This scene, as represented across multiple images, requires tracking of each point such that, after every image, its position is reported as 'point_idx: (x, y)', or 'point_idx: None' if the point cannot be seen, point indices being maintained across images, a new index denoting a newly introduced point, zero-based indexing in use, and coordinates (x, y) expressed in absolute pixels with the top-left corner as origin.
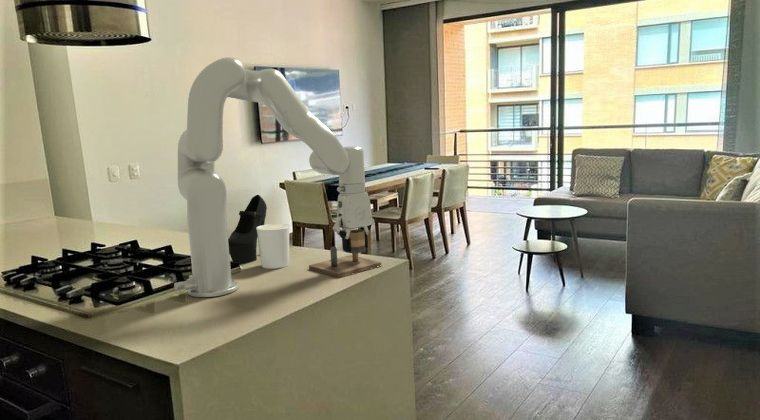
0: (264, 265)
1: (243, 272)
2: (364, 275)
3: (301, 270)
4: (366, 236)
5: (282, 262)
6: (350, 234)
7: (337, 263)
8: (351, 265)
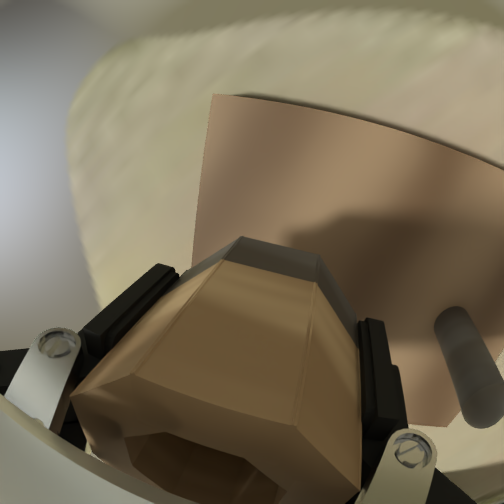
0: None
1: (486, 491)
2: (464, 72)
3: (463, 421)
4: (103, 322)
5: None
6: (355, 468)
7: None
8: (398, 239)
